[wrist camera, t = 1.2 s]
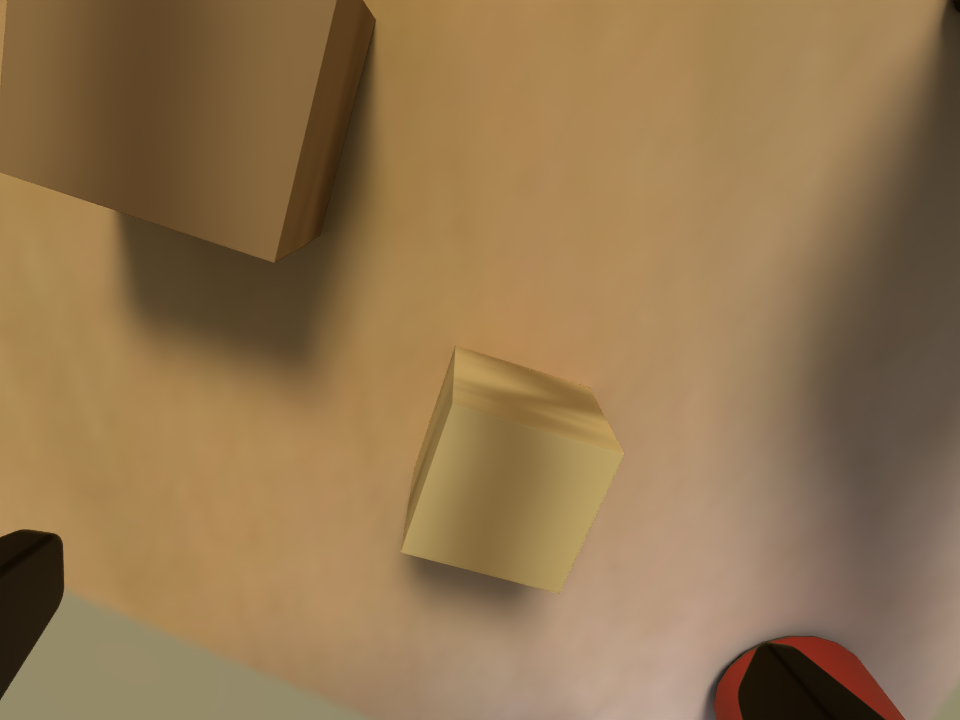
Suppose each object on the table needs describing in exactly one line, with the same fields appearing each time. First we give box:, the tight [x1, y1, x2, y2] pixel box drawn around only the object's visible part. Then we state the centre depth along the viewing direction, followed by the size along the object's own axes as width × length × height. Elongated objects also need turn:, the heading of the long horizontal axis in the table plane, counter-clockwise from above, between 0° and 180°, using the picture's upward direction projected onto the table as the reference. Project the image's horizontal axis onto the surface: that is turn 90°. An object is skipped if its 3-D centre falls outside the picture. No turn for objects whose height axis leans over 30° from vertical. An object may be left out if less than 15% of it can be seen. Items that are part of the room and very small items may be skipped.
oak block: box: [401, 346, 624, 594], centre depth 19 cm, size 5×5×5 cm
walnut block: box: [0, 0, 376, 263], centre depth 15 cm, size 6×6×5 cm
